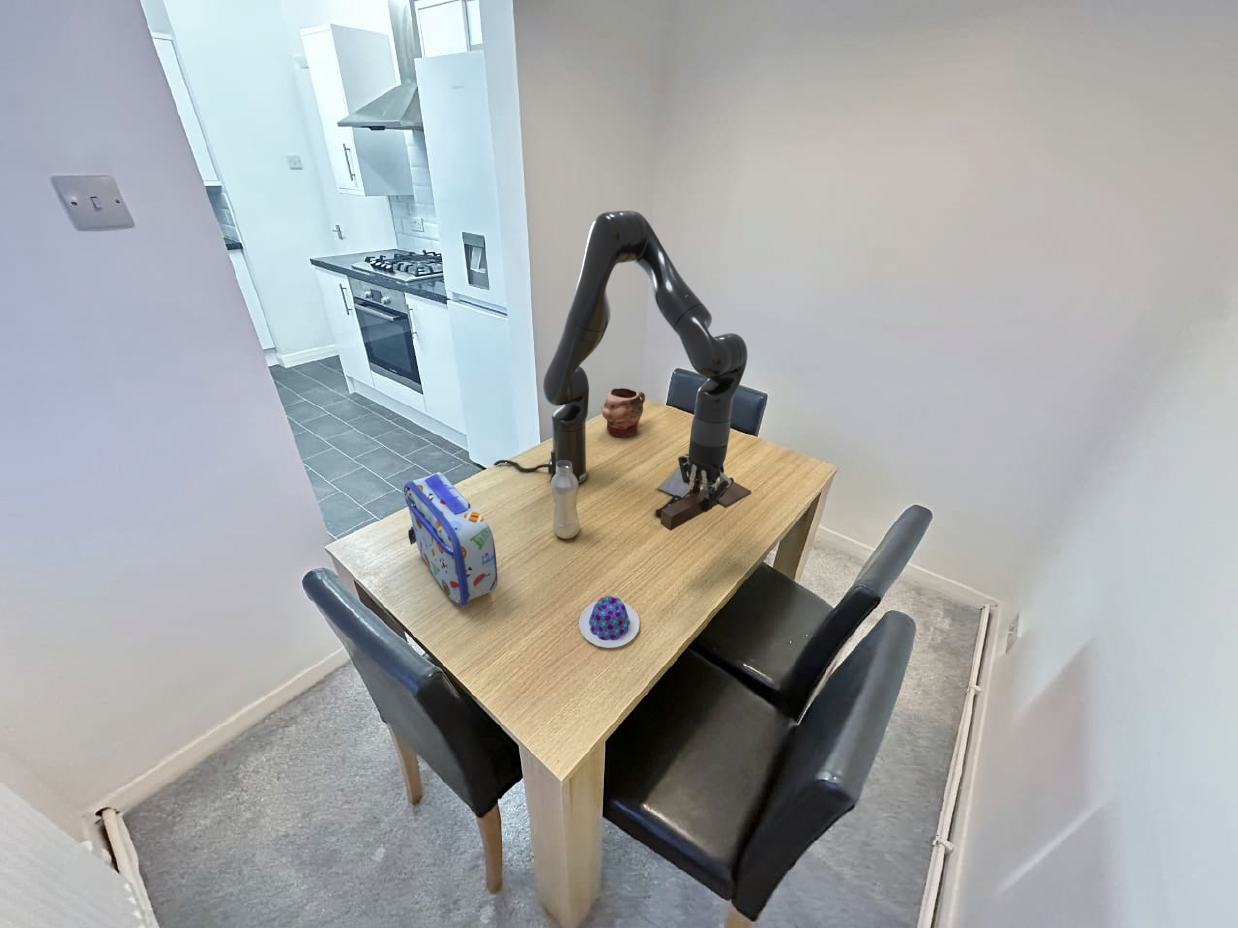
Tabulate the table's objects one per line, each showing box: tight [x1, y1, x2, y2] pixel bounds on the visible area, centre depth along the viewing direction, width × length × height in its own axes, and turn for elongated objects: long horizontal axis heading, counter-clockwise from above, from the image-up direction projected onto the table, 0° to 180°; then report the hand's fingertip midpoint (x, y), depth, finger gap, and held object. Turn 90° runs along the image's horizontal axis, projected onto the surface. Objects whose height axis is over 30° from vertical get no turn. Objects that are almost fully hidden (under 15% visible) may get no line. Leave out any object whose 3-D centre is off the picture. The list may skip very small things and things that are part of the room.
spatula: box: [659, 481, 752, 532], centre depth 106 cm, size 24×7×4 cm, turn 130°
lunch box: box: [403, 471, 498, 607], centre depth 103 cm, size 28×10×22 cm, turn 42°
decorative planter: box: [600, 387, 646, 438], centre depth 166 cm, size 20×12×14 cm, turn 143°
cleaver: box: [655, 466, 703, 518], centre depth 139 cm, size 29×1×10 cm
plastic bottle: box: [550, 460, 581, 540], centre depth 116 cm, size 6×7×20 cm
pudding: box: [578, 595, 641, 649], centre depth 96 cm, size 12×12×5 cm
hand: (700, 506), depth 106 cm, fingers closed on spatula, 3 cm apart
